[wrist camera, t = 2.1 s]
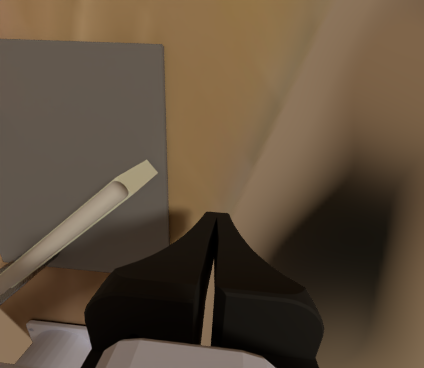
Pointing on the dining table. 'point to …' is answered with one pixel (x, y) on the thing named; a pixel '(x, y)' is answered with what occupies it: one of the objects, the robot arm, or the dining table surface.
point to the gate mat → (81, 147)
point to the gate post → (11, 291)
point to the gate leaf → (78, 223)
